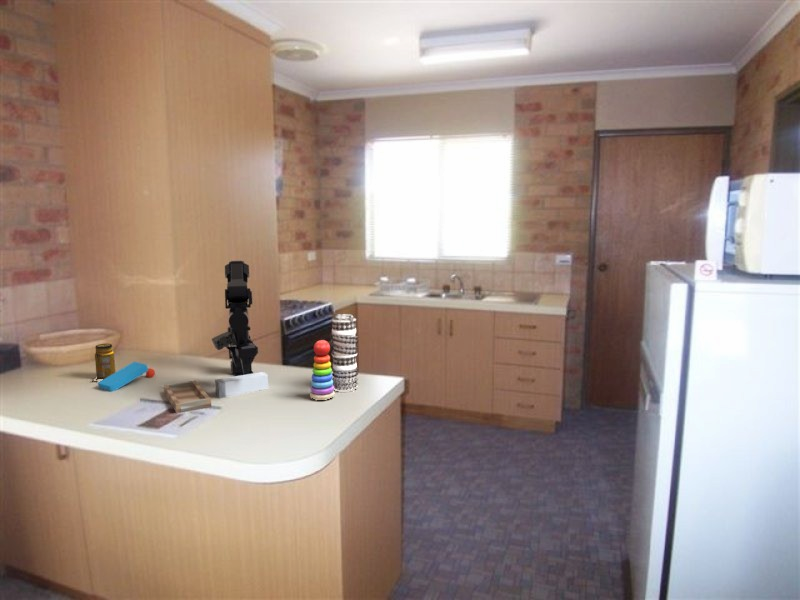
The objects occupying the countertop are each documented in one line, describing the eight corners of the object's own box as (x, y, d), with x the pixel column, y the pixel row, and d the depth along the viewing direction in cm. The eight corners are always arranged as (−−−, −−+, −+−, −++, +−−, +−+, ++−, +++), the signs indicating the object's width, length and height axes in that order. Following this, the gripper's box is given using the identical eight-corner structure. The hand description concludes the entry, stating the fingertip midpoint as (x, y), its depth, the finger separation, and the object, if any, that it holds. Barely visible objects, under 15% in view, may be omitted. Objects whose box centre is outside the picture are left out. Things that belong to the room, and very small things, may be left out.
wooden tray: (164, 392, 179) (163, 385, 178) (195, 387, 184) (195, 380, 184) (176, 413, 161) (175, 405, 160) (211, 406, 166) (211, 398, 166)
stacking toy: (305, 399, 172) (303, 341, 169) (318, 392, 179) (316, 336, 176) (327, 403, 169) (325, 344, 166) (339, 395, 176) (338, 338, 173)
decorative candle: (325, 388, 183) (323, 315, 179) (346, 382, 189) (345, 311, 185) (343, 395, 176) (342, 319, 172) (364, 388, 183) (363, 314, 179)
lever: (116, 404, 182) (161, 376, 196) (109, 386, 179) (155, 359, 193) (104, 400, 186) (149, 373, 200) (97, 382, 183) (142, 356, 197)
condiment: (119, 374, 199) (116, 342, 197) (113, 381, 191) (110, 347, 189) (97, 375, 198) (94, 343, 196) (90, 382, 190) (86, 349, 188)
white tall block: (264, 386, 186) (263, 371, 185) (268, 389, 182) (267, 375, 181) (215, 394, 177) (215, 379, 177) (219, 398, 174) (218, 383, 173)
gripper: (206, 321, 180) (209, 367, 182) (221, 332, 164) (223, 382, 167) (240, 317, 185) (242, 362, 188) (257, 327, 170) (259, 376, 172)
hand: (241, 370), depth 179 cm, fingers open, 9 cm apart
